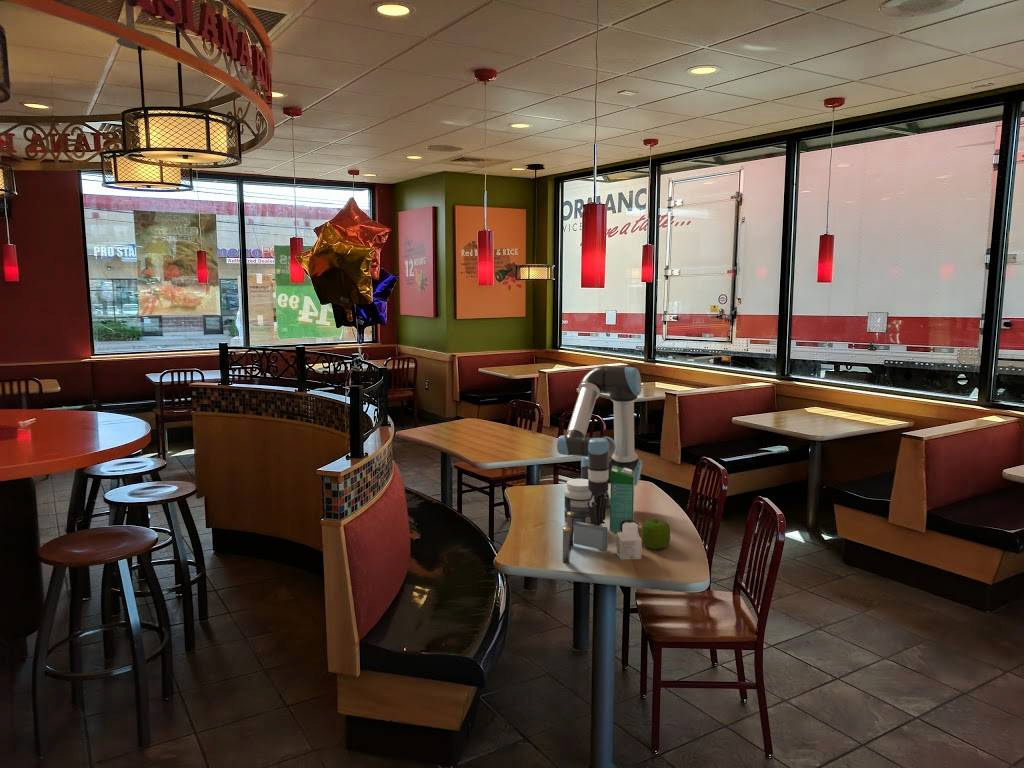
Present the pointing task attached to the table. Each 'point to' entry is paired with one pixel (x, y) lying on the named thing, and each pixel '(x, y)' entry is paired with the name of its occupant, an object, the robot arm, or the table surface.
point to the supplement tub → (578, 500)
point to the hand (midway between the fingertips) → (598, 540)
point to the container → (629, 540)
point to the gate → (590, 535)
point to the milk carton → (621, 496)
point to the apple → (655, 533)
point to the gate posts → (568, 536)
